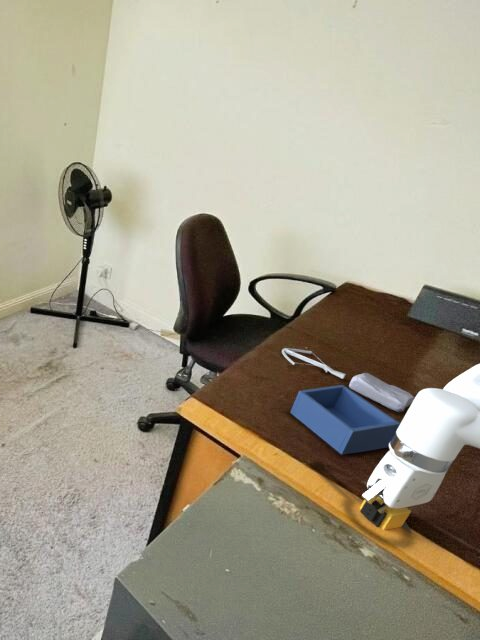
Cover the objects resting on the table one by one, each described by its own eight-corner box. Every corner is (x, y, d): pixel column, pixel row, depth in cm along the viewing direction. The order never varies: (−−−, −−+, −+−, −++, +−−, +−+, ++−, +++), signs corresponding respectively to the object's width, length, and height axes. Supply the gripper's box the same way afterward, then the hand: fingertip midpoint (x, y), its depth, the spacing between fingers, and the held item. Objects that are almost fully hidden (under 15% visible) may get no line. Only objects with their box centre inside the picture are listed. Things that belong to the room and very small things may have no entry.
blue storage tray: (387, 447, 98) (401, 423, 95) (341, 455, 96) (353, 431, 93) (332, 406, 111) (342, 384, 108) (289, 413, 108) (299, 390, 105)
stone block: (357, 383, 122) (344, 386, 117) (366, 369, 120) (353, 372, 115) (409, 410, 112) (398, 416, 107) (420, 396, 111) (409, 401, 106)
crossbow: (272, 358, 130) (274, 352, 130) (290, 347, 137) (292, 342, 136) (335, 385, 117) (337, 379, 117) (351, 372, 124) (353, 366, 123)
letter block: (401, 526, 80) (411, 511, 78) (383, 530, 79) (392, 515, 77) (376, 505, 84) (385, 490, 82) (358, 508, 83) (367, 493, 81)
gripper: (406, 476, 70) (364, 544, 77) (483, 461, 72) (435, 528, 79) (360, 441, 76) (326, 506, 84) (432, 429, 79) (392, 493, 86)
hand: (380, 516), depth 81 cm, fingers closed on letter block, 4 cm apart
